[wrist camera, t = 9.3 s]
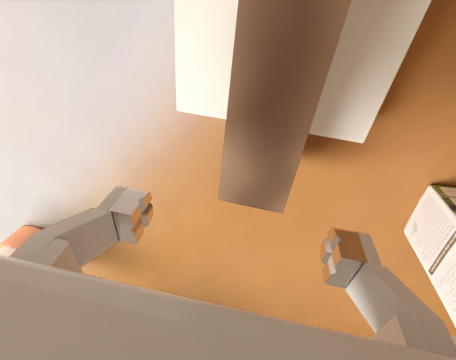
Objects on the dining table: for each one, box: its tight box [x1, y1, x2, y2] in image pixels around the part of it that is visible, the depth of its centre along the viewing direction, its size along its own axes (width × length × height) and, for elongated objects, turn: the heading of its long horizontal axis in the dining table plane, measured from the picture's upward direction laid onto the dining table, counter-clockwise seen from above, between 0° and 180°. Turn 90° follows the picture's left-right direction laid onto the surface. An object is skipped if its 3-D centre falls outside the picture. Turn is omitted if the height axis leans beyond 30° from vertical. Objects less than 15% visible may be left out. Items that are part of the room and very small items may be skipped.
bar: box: [218, 0, 352, 213], centre depth 14 cm, size 4×15×4 cm, turn 174°
